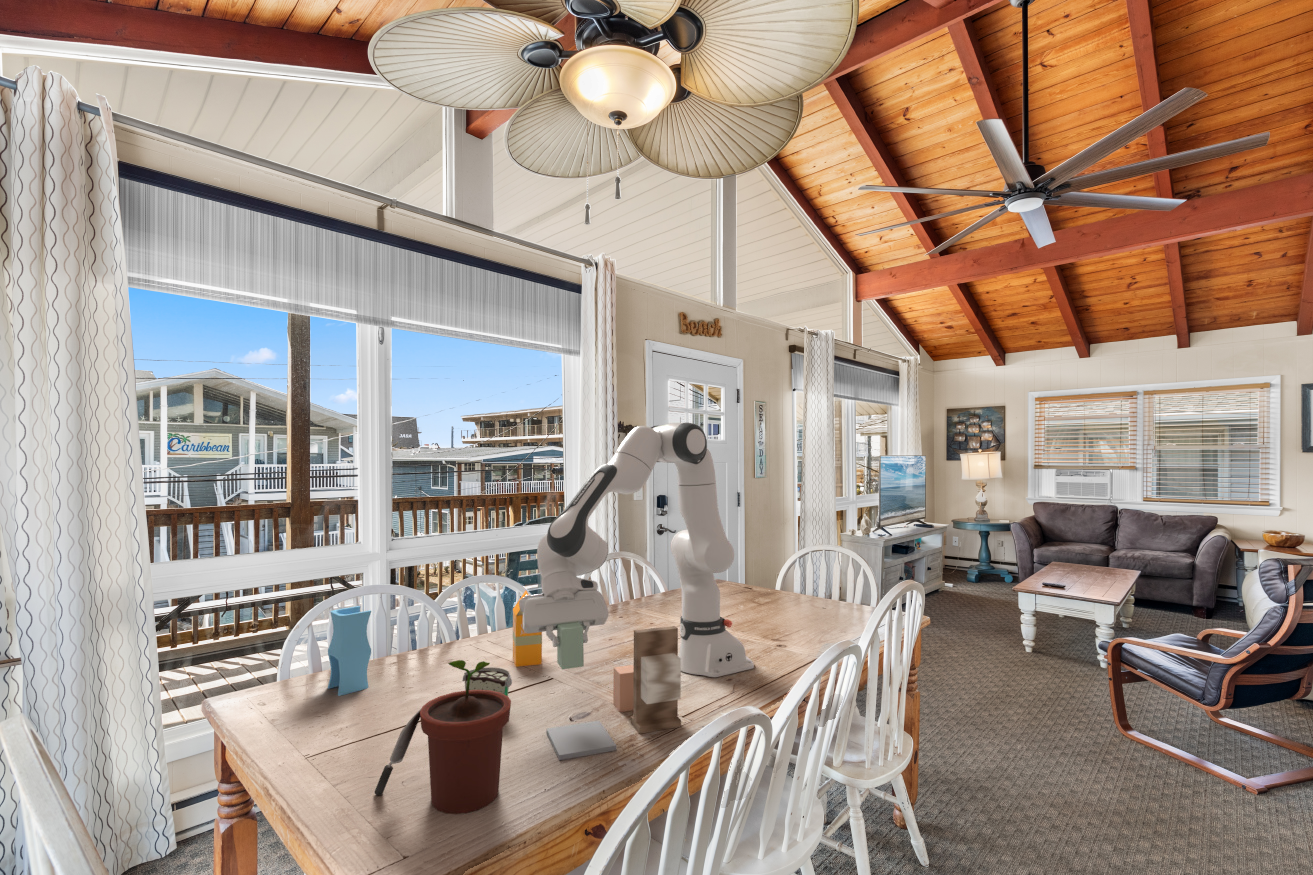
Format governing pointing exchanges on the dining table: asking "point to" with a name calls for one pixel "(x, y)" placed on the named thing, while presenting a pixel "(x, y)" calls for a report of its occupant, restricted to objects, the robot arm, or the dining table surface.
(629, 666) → the terracotta block
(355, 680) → the vase
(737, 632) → the dining table surface
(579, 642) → the green block
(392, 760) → the potted plant
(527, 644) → the orange juice
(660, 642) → the wall stand
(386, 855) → the dining table surface
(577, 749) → the grey board
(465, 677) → the food container
